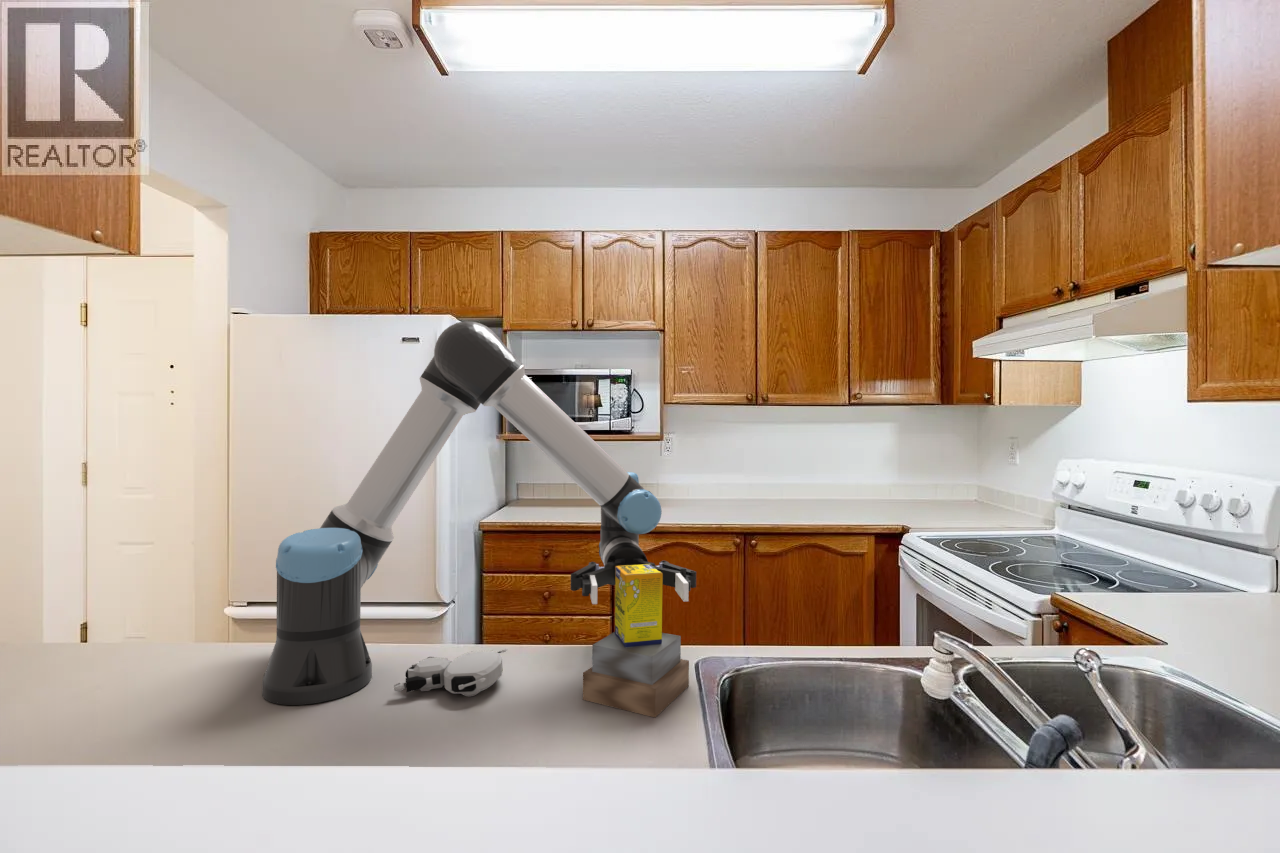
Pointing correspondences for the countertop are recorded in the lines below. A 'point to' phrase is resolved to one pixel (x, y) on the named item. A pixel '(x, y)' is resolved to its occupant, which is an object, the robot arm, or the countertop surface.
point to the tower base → (636, 691)
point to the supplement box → (638, 605)
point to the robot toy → (455, 673)
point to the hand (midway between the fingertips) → (640, 593)
